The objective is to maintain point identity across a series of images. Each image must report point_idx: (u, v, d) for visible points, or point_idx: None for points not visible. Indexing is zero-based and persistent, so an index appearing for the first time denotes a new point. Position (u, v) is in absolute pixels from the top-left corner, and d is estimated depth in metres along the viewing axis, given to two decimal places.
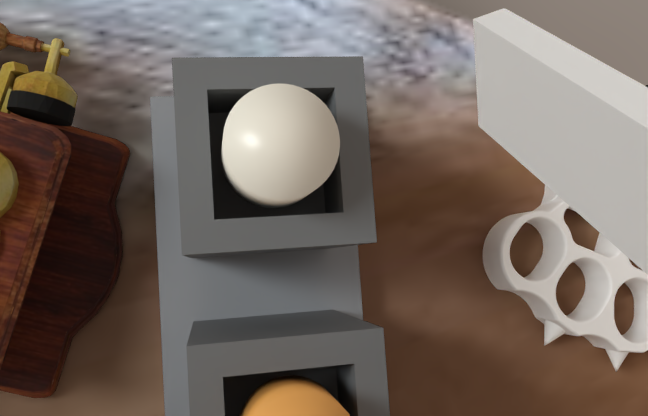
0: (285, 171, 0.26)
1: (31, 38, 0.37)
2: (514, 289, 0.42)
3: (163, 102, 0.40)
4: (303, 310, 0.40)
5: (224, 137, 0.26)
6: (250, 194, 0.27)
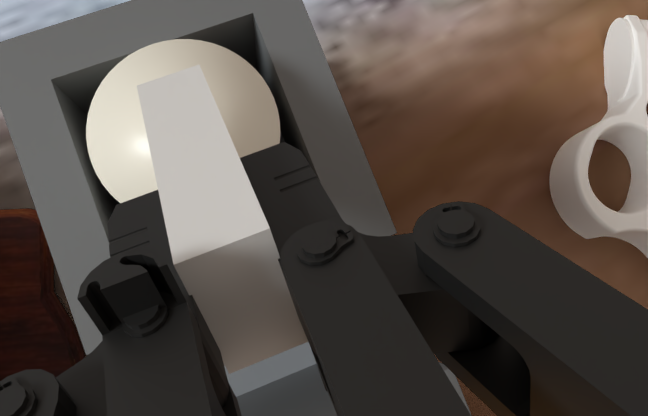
0: None
1: None
2: (613, 232, 0.30)
3: None
4: None
5: (91, 153, 0.16)
6: None
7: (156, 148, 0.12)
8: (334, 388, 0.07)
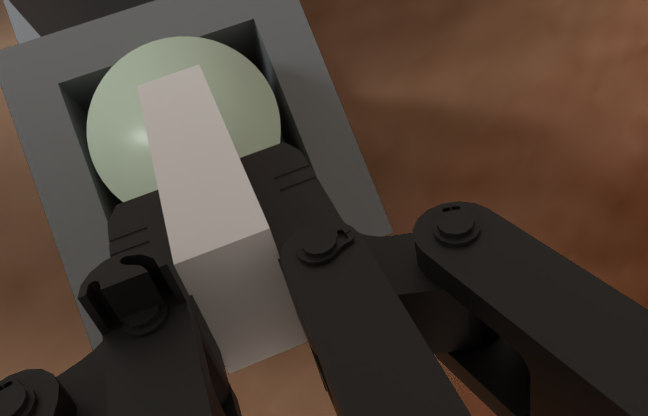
0: None
1: None
2: None
3: None
4: None
5: None
6: None
7: (156, 148, 0.12)
8: (334, 388, 0.07)
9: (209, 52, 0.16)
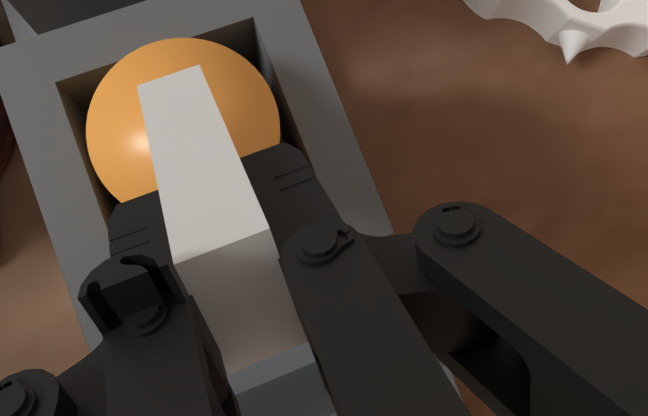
0: None
1: None
2: None
3: None
4: None
5: None
6: None
7: (156, 148, 0.12)
8: (334, 389, 0.07)
9: None
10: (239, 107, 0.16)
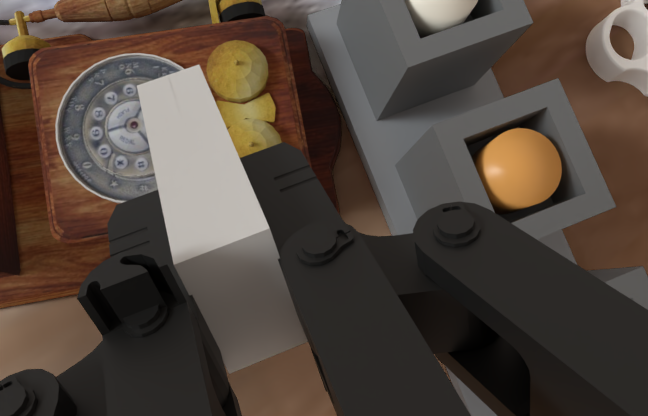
0: (452, 1, 0.40)
1: None
2: (623, 70, 0.52)
3: (318, 16, 0.52)
4: None
5: None
6: (431, 27, 0.41)
7: (156, 148, 0.12)
8: (334, 389, 0.07)
9: None
10: (544, 157, 0.39)
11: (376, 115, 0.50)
